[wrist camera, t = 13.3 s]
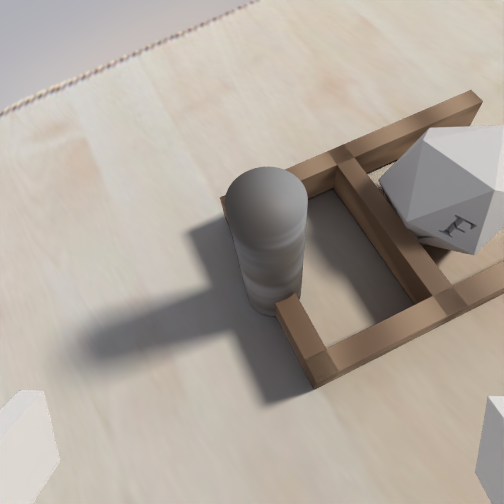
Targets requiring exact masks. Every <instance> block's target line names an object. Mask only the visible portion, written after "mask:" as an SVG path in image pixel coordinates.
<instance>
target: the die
mask: <svg viewBox="0 0 504 504" xmlns="http://www.w3.org/2000/svg"><path fill="white" fill-rule="evenodd" d="M379 182H380V184H381V187H382V189H383V191H384V193H385V195H386V197H387V199H388V201H389V204H390V205H391V206H392V208H393V209H394V210H395V212H396V213H397V214H398V215H399V217H400V218H401V219H402V221H403V223H404V224H405V226H406V228H407V229H409V230H410V231H411V232H412V234H413V235H414V236H415V238H416V239H417V240H418V242H419V243H421V244H426V245H427V244H428V245H430V246H435V247H439V248H444V249H448V250H453V251H457V252H462V253H466V254H471V255H475V254H476V253H477V252H478V251H479V250H480V249H481V248H482V247H483V246H484V245H485V244H486V243H487V242H488V241H489V240H490V239H491V238H492V237H493V236H494V235H495V234H497V233H498V232H499V231H500V230H501V229H502V228H503V227H504V125H491V126H464V127H437V128H429V129H428V130H427V131H426V132H425V133H424V134H423V135H422V136H421V137H420V138H419V139H418V140H417V141H416V142H415V143H414V144H413V145H412V146H411V147H410V148H409V149H408V150H407V151H406V152H405V153H404V154H403V155H402V156H401V157H400V158H399V159H398V160H397V161H396V162H395V163H394V164H393V165H392V166H391V167H390V168H389V169H388V170H387V171H386V172H385V174H384V175H383V176H382V177H381V178H380V179H379Z"/></svg>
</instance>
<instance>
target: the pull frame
mask: <svg viewBox="0 0 504 504" xmlns="http://www.w3.org/2000/svg"><path fill="white" fill-rule="evenodd" d="M482 102H483V101H482V100H481V99H480V98H479V97H478V96H477V95H476V94H475V93H474V92H473V91H472V90H470V91H467V92H465V93H463V94H460V95H458V96H456V97H453V98H451V99H449V100H446V101H444V102H442V103H439V104H437V105H435V106H432V107H430V108H428V109H425V110H423V111H421V112H418V113H416V114H414V115H411V116H409V117H407V118H404V119H402V120H400V121H397V122H395V123H393V124H390V125H388V126H386V127H383V128H381V129H379V130H376V131H374V132H372V133H369V134H367V135H365V136H362V137H360V138H358V139H355V140H353V141H351V142H348V143H346V144H344V145H341V146H339V147H337V148H334V149H332V150H330V151H327V152H325V153H323V154H320V155H318V156H316V157H313V158H311V159H309V160H306V161H304V162H302V163H299V164H297V165H295V166H292V167H290V168H288V169H285V170H284V169H281V168H276V167H260V168H255V169H252V170H249V171H247V172H245V173H243V174H242V175H240V176H239V177H238V178H236V179H235V180H234V181H233V183H232V184H231V185H230V187H229V189H228V191H227V193H226V195H225V196H222V197H220V200H221V203H222V207H223V211H224V215H225V218H226V220H227V222H228V224H229V226H230V228H231V232H232V236H233V240H234V244H235V248H236V252H237V256H238V260H239V264H240V268H241V272H242V276H243V279H244V283H245V287H246V291H247V295H248V299H249V301H250V303H251V305H252V306H253V307H254V308H255V309H256V310H257V311H258V312H260V313H262V314H264V315H267V316H276V317H277V319H278V321H279V323H280V325H281V327H282V329H283V331H284V333H285V335H286V337H287V339H288V341H289V342H290V344H291V346H292V348H293V350H294V352H295V354H296V356H297V358H298V360H299V362H300V364H301V366H302V368H303V370H304V372H305V374H306V375H307V377H308V379H309V381H310V383H311V385H312V387H313V389H314V390H315V389H317V388H319V387H321V386H323V385H325V384H327V383H329V382H330V381H332V380H334V379H336V378H338V377H340V376H342V375H344V374H346V373H348V372H350V371H352V370H354V369H356V368H358V367H360V366H362V365H364V364H366V363H368V362H370V361H372V360H374V359H376V358H378V357H380V356H382V355H383V354H385V353H387V352H389V351H391V350H393V349H395V348H397V347H399V346H401V345H403V344H405V343H407V342H409V341H411V340H413V339H415V338H417V337H419V336H421V335H423V334H425V333H427V332H429V331H431V330H433V329H435V328H436V327H438V326H440V325H442V324H444V323H446V322H448V321H450V320H452V319H454V318H456V317H458V316H460V315H462V314H464V313H466V312H468V311H470V310H472V309H474V308H476V307H478V306H480V305H482V304H484V303H486V302H488V301H489V300H491V299H493V298H495V297H497V296H499V295H501V294H503V293H504V261H502V262H500V263H498V264H496V265H494V266H492V267H490V268H488V269H486V270H484V271H482V272H480V273H478V274H476V275H474V276H472V277H470V278H468V279H466V280H464V281H462V282H460V283H458V284H456V285H454V286H452V285H451V283H450V282H449V281H448V280H447V278H446V277H445V276H444V274H443V273H442V272H441V270H440V269H439V268H438V266H437V265H436V264H435V263H434V261H433V260H432V259H431V257H430V256H429V255H428V253H427V252H426V251H425V249H424V248H423V247H422V246H421V244H420V243H419V242H418V240H417V239H416V238H415V236H414V235H413V234H412V232H411V231H410V230H409V229H407V228H406V226H405V224H404V223H403V221H402V219H401V218H400V217H399V215H398V214H397V213H396V212H395V210H394V209H393V208H392V206H391V205H390V204H389V202H388V201H387V200H386V198H385V197H384V196H383V195H382V193H381V192H380V191H379V189H378V188H377V187H376V185H375V184H374V183H373V181H372V180H371V179H370V178H369V176H368V175H367V174H366V173H368V172H370V171H372V170H375V169H377V168H379V167H381V166H384V165H386V164H388V163H390V162H393V161H395V160H397V159H399V158H400V157H401V156H402V155H403V154H404V153H405V152H406V151H407V150H408V149H409V148H410V147H411V146H412V145H413V144H414V143H415V142H416V141H417V140H418V139H419V138H420V137H421V136H422V135H423V134H424V133H425V132H426V131H427V130H428V129H429V128H437V127H464V126H470V124H471V122H472V121H473V119H474V117H475V115H476V113H477V112H478V110H479V108H480V106H481V104H482ZM332 188H334V189H335V191H336V192H337V194H338V195H339V197H340V198H341V199H342V201H343V202H344V204H345V205H346V207H347V208H348V209H349V211H350V212H351V214H352V215H353V217H354V218H355V219H356V221H357V222H358V224H359V225H360V227H361V228H362V230H363V231H364V232H365V234H366V235H367V237H368V238H369V240H370V241H371V242H372V244H373V245H374V247H375V248H376V250H377V251H378V252H379V254H380V255H381V257H382V258H383V260H384V261H385V262H386V264H387V265H388V267H389V268H390V270H391V271H392V272H393V274H394V275H395V277H396V278H397V280H398V281H399V282H400V284H401V285H402V287H403V288H404V290H405V291H406V292H407V294H408V295H409V297H410V298H411V300H412V301H413V302H414V304H415V305H414V306H412V307H410V308H408V309H406V310H404V311H402V312H400V313H398V314H396V315H394V316H392V317H390V318H388V319H386V320H384V321H382V322H380V323H378V324H376V325H374V326H371V327H369V328H367V329H365V330H363V331H361V332H359V333H357V334H355V335H353V336H351V337H349V338H347V339H345V340H343V341H341V342H339V343H337V344H335V345H333V346H331V347H329V348H327V349H326V347H325V346H324V344H323V342H322V340H321V338H320V337H319V335H318V333H317V331H316V329H315V328H314V326H313V324H312V322H311V320H310V319H309V317H308V315H307V313H306V311H305V310H304V308H303V306H302V304H301V302H300V301H299V299H300V295H301V284H302V271H303V258H304V244H305V231H306V218H307V205H308V199H309V198H311V197H314V196H316V195H318V194H320V193H323V192H325V191H327V190H329V189H332Z"/></svg>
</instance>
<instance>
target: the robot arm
mask: <svg viewBox="0 0 504 504" xmlns="http://www.w3.org/2000/svg"><path fill="white" fill-rule="evenodd" d="M59 462H60V457H59V453H58V449H57V445H56V441H55V436H54V432H53V428H52V424H51V420H50V416H49V411H48V407H47V403H46V399H45V395H44V391H43V390H20V391H19V392H18V393H17V394H16V395H15V396H14V397H13V398H12V399H11V400H10V401H9V402H8V403H7V404H6V405H5V406H4V407H3V408H2V409H1V410H0V504H33V502H34V501H35V499H36V498H37V496H38V494H39V493H40V491H41V490H42V488H43V487H44V485H45V484H46V482H47V481H48V479H49V478H50V476H51V474H52V473H53V471H54V470H55V468H56V467H57V465H58V464H59ZM475 473H476V475H477V477H478V479H479V481H480V482H481V484H482V486H483V488H484V490H485V492H486V494H487V496H488V497H489V499H490V501H491V503H492V504H504V396H488V398H487V404H486V410H485V416H484V422H483V428H482V434H481V440H480V446H479V452H478V458H477V464H476V470H475Z"/></svg>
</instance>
